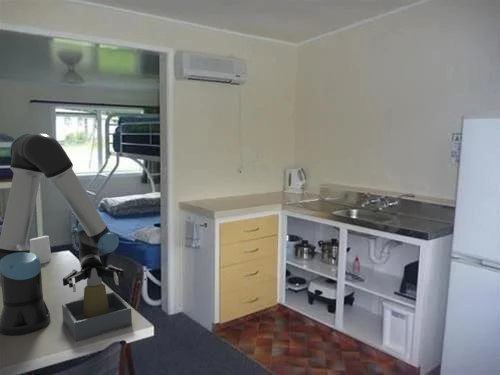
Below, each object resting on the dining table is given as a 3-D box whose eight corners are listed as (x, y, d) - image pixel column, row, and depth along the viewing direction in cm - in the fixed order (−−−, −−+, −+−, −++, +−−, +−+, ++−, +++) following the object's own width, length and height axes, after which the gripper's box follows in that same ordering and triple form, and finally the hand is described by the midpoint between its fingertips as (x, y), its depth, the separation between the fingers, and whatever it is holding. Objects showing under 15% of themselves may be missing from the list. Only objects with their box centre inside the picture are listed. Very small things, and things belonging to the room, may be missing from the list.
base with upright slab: (44, 257, 214) (42, 234, 212) (54, 259, 209) (53, 236, 208) (27, 262, 206) (25, 238, 205) (38, 264, 202) (36, 240, 200)
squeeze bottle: (83, 317, 140) (79, 266, 138) (108, 313, 144) (105, 263, 141) (84, 327, 133) (81, 274, 131) (110, 322, 136) (107, 270, 134)
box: (131, 325, 137) (131, 308, 136) (75, 341, 126) (74, 322, 126) (114, 307, 151) (113, 292, 150) (63, 320, 141) (61, 304, 140)
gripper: (125, 271, 164) (134, 289, 145) (56, 281, 153) (56, 302, 134) (124, 252, 163) (133, 268, 144) (54, 261, 152) (54, 279, 133)
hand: (96, 284), depth 139 cm, fingers open, 13 cm apart
